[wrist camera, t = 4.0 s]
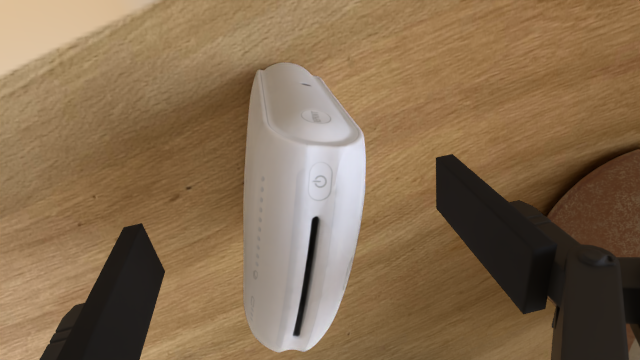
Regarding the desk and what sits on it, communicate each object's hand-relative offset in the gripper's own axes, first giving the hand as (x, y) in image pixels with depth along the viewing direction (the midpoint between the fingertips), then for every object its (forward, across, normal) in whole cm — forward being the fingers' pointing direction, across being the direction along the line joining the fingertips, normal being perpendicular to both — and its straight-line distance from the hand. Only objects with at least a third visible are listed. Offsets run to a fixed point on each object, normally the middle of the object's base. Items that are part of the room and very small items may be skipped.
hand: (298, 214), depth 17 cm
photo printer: (+8, 0, 0) cm, 8 cm away
